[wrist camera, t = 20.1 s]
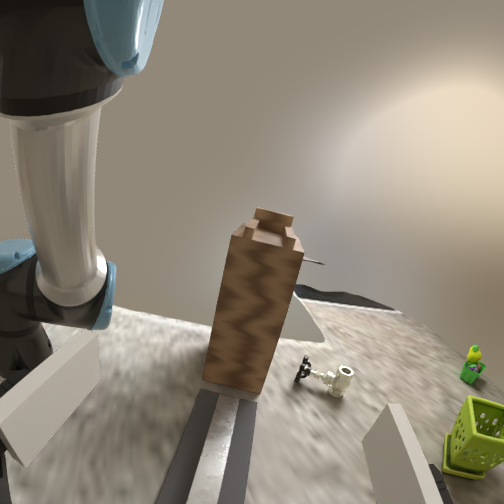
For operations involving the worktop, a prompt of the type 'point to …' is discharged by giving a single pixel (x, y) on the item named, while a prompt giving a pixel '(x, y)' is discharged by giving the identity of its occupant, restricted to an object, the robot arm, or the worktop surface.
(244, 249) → the column
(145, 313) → the worktop surface
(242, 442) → the bed mat
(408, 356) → the worktop surface
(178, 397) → the worktop surface
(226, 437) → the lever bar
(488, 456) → the flower pot
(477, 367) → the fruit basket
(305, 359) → the valve
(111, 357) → the worktop surface
